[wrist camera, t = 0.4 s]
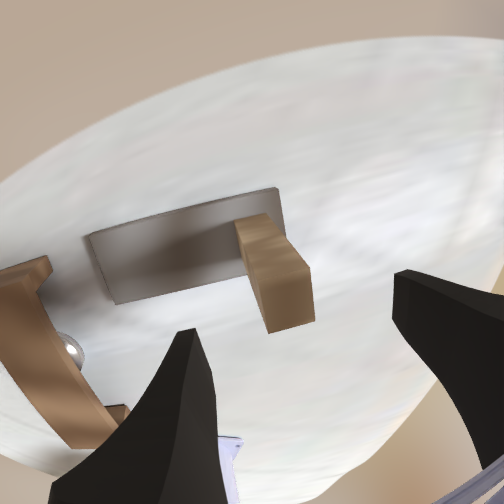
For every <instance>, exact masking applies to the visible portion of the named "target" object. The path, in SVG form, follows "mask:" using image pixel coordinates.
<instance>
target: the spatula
mask: <svg viewBox="0 0 504 504" xmlns="http://www.w3.org/2000/svg"><path fill="white" fill-rule="evenodd" d="M89 239H90V242H91V245H92V248H93V250H94V253H95V256H96V258H97V261H98V264H99V266H100V269H101V272H102V274H103V277H104V279H105V282H106V284H107V287H108V289H109V292H110V294H111V296H112V299H113V301H114V303H115V305H119V304H124V303H128V302H133V301H137V300H142V299H146V298H150V297H155V296H159V295H164V294H168V293H172V292H177V291H181V290H185V289H190V288H194V287H198V286H203V285H207V284H211V283H215V282H220V281H224V280H228V279H232V278H236V277H240V276H245V275H248V278H249V280H250V283H251V286H252V289H253V292H254V295H255V298H256V300H257V303H258V306H259V309H260V312H261V314H262V317H263V320H264V323H265V326H266V329H267V331H268V334H270V333H274V332H278V331H281V330H285V329H289V328H293V327H296V326H300V325H303V324H307V323H310V322H314V321H315V312H314V302H313V292H312V282H311V273H310V267H309V266H308V265H307V263H306V262H305V261H304V260H303V258H302V257H301V256H300V255H299V253H298V252H297V251H296V249H295V248H294V247H293V246H292V244H291V243H290V242H289V241H288V239H287V238H286V232H285V226H284V220H283V214H282V207H281V201H280V195H279V189H277V188H276V187H274V188H269V189H264V190H259V191H255V192H250V193H246V194H241V195H236V196H232V197H228V198H223V199H219V200H215V201H210V202H206V203H202V204H198V205H194V206H190V207H186V208H182V209H178V210H174V211H170V212H166V213H162V214H158V215H154V216H150V217H147V218H143V219H139V220H136V221H132V222H128V223H125V224H121V225H118V226H114V227H110V228H107V229H104V230H100V231H97V232H93V233H92V234H91V235H90V236H89Z"/></svg>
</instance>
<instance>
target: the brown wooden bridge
mask: <svg viewBox="0 0 504 504" xmlns="http://www.w3.org/2000/svg"><path fill="white" fill-rule="evenodd" d="M52 272H53V269H52V267H51V264H50V262H49V259H48V257H47V255H46V256H43V257H40V258H37V259H34V260H31V261H28V262H25V263H22V264H19V265H16V266H13V267H10V268H7V269H4V270H1V271H0V360H1V362H2V363H3V365H4V366H5V368H6V369H7V371H8V372H9V374H10V375H11V377H12V378H13V380H14V381H15V382H16V384H17V385H18V386H19V388H20V389H21V391H22V392H23V393H24V395H25V396H26V397H27V398H28V400H29V401H30V402H31V404H32V405H33V406H34V407H35V409H36V410H37V411H38V412H39V413H40V415H41V416H42V417H43V418H44V419H45V420H46V422H47V423H48V424H49V425H50V426H51V427H52V429H53V430H54V431H55V432H56V433H57V434H58V435H59V436H60V437H61V438H62V439H63V441H64V442H65V443H66V444H67V445H68V446H69V447H70V448H71V449H97V448H98V447H99V446H100V445H101V444H103V443H104V442H105V441H106V440H107V438H108V437H109V436H110V435H111V434H112V433H113V432H114V431H115V430H116V429H117V428H118V427H119V425H120V424H121V423H122V422H123V421H124V420H125V419H126V417H127V416H128V415H129V414H130V412H131V411H130V410H129V408H128V407H127V406H126V405H125V406H116V407H106V408H105V407H104V406H103V405H102V403H101V402H100V400H99V399H98V398H97V396H96V395H95V393H94V392H93V390H92V389H91V387H90V386H89V384H88V383H87V381H86V380H85V378H84V377H83V375H82V374H81V372H80V371H79V369H78V368H77V366H76V364H75V363H74V361H73V359H72V358H71V356H70V355H69V353H68V351H67V349H66V348H65V346H64V344H63V343H62V341H61V339H60V337H59V335H58V334H57V332H56V330H55V328H54V326H53V324H52V323H51V321H50V319H49V317H48V315H47V313H46V311H45V309H44V307H43V305H42V303H41V301H40V299H39V297H38V295H37V292H36V291H37V289H38V288H39V287H40V286H41V285H42V283H43V282H44V281H45V280H46V279H47V278H48V276H49V275H50V274H51V273H52Z"/></svg>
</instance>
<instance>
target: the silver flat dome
mask: <svg viewBox="0 0 504 504" xmlns="http://www.w3.org/2000/svg"><path fill="white" fill-rule="evenodd" d="M57 334H58V335H59V337H60V339H61V341H62V343H63V344H64V346H65V348H66V349H67V351H68V353H69V355H70V356H71V358H72V359H73V361H74V363H75V364H76V366H77V368H78V369H79V371H81V368H82V366H83V363H84V352H83V350H82V348H81V346H80V345H79V344H78V343H77V342H76V341H75V340H74V339H73V338H72V337H70V336H68V335H67V334H64V333H61V332H57Z"/></svg>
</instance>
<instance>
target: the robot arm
mask: <svg viewBox="0 0 504 504" xmlns="http://www.w3.org/2000/svg"><path fill="white" fill-rule="evenodd" d="M392 320H393V321H394V323H395V325H396V326H397V328H398V330H399V331H400V333H401V334H402V336H403V337H404V339H405V340H406V341H407V342H408V344H409V345H410V346H411V347H412V348H413V350H414V351H415V352H416V353H417V354H418V355H419V357H420V358H421V359H422V360H423V361H424V362H425V364H426V365H427V366H428V367H429V368H430V369H431V371H432V372H433V373H434V374H435V375H436V377H437V378H438V379H439V380H440V382H441V383H442V385H443V386H444V388H445V389H446V391H447V393H448V394H449V396H450V397H451V399H452V400H453V402H454V404H455V406H456V408H457V410H458V412H459V413H460V415H461V417H462V419H463V421H464V423H465V425H466V427H467V429H468V432H469V434H470V436H471V438H472V441H473V444H474V446H475V449H476V452H477V454H478V457H479V460H480V463H481V466H482V469H483V471H481V472H480V473H479V474H477V475H476V476H475V477H473V478H472V479H470V480H469V481H467V482H466V483H464V484H463V485H461V486H460V487H458V488H457V489H455V490H454V491H452V492H450V493H449V494H447V495H446V496H444V497H442V498H440V499H439V500H437V501H435V502H434V503H432V504H471V503H473V502H474V501H476V500H477V499H478V498H480V497H481V496H482V495H484V494H485V493H486V492H488V491H489V490H490V489H492V488H493V487H494V486H496V485H497V484H498V483H499V482H501V481H502V480H503V479H504V296H503V295H498V294H492V293H488V292H484V291H480V290H477V289H473V288H469V287H466V286H462V285H459V284H456V283H453V282H450V281H446V280H443V279H440V278H437V277H434V276H431V275H428V274H424V273H421V272H417V271H413V270H408V269H407V270H404V271H401V272H398V273H395V274H394V294H393V311H392ZM243 444H244V441H243V439H239V438H227V437H218V430H217V410H216V395H215V389H214V383H213V377H212V371H211V369H210V366H209V363H208V361H207V358H206V356H205V353H204V350H203V347H202V345H201V342H200V339H199V336H198V334H197V331H196V328H192V329H188V330H183V331H179V332H177V334H176V335H175V337H174V339H173V341H172V343H171V346H170V348H169V350H168V352H167V354H166V355H165V357H164V359H163V361H162V363H161V365H160V367H159V369H158V370H157V372H156V374H155V376H154V378H153V379H152V381H151V383H150V384H149V386H148V387H147V389H146V391H145V392H144V394H143V395H142V397H141V398H140V400H139V401H138V403H137V404H136V406H135V407H134V408H133V410H132V411H131V412H130V414H129V415H128V416H127V417H126V419H125V420H124V421H123V422H122V423H121V424H120V425H119V427H118V428H117V429H116V430H115V431H114V432H113V433H112V434H111V435H110V436H109V437H108V438H107V440H106V441H105V442H104V443H103V444H101V445H100V446H99V447H98V448H97V449H96V450H95V451H94V452H93V453H92V454H91V455H89V456H88V457H87V458H86V459H85V460H83V461H82V462H81V463H80V464H78V465H77V466H76V467H74V468H73V469H72V470H70V471H69V472H67V473H66V474H65V475H63V476H62V477H60V478H59V479H57V480H56V481H54V482H53V483H52V486H51V490H50V495H49V500H48V504H240V501H239V495H238V490H237V484H236V478H235V472H234V466H233V460H234V459H235V457H236V455H237V454H238V452H239V450H240V449H241V447H242V445H243ZM484 504H504V486H503V487H502V488H501V489H500V490H499V491H498V492H497V493H496V494H495V495H493V496H492V497H491V498H490V499H489V500H488V501H486V502H485V503H484Z"/></svg>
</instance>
